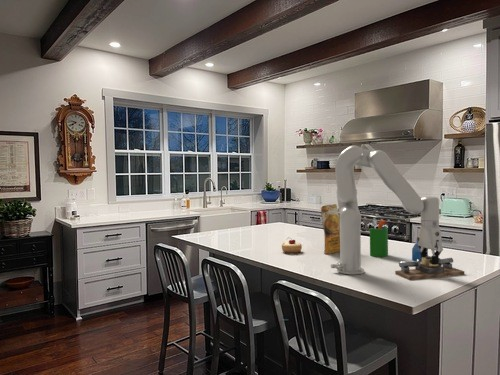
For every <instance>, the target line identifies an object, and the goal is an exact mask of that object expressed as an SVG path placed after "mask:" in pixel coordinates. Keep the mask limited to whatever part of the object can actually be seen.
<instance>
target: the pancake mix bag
mask: <svg viewBox="0 0 500 375" xmlns="http://www.w3.org/2000/svg"><path fill="white" fill-rule="evenodd" d="M320 214H321V220H322V222H321V223H322V229H323V235H324V236H323V237H324V252H323V254H325V255H331V253H332V254H336V253H338V252H339V253H340V214H339V207H338V205H337V204H336V203H335V204H327V205H322V206H321V207H320ZM335 252H336V253H335Z"/></svg>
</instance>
